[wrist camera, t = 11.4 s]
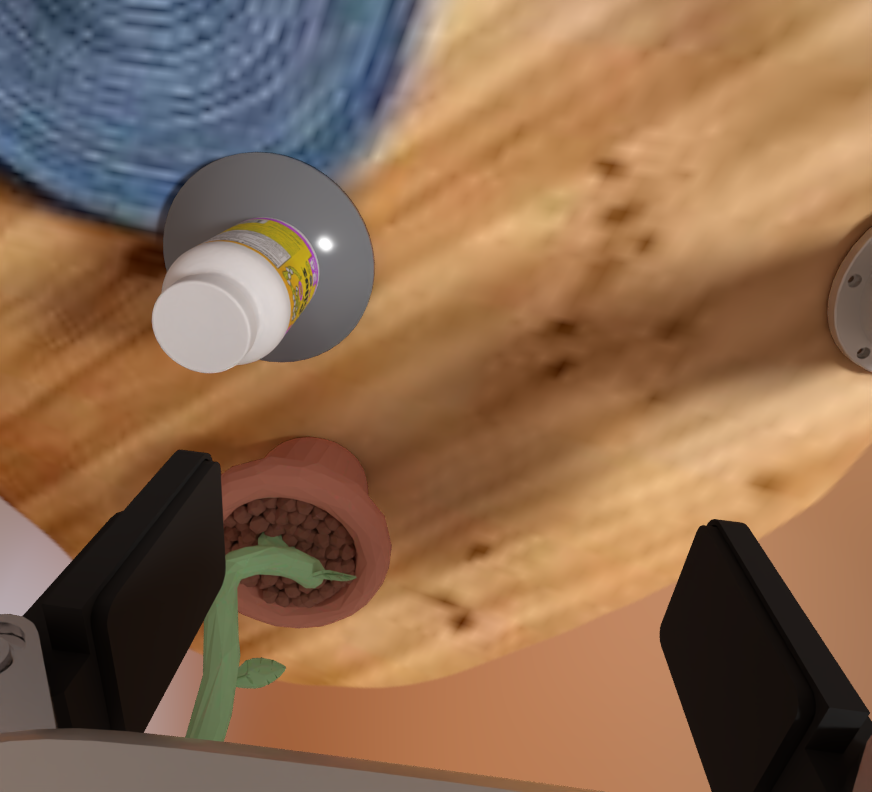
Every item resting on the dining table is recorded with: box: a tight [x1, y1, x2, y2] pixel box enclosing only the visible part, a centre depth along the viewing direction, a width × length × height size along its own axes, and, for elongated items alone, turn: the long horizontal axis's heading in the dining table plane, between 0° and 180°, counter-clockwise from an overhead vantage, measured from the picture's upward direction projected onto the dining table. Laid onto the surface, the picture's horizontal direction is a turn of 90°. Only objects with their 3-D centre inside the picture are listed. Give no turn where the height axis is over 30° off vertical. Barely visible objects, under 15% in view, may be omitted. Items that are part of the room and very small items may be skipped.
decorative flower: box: [185, 437, 392, 742], centre depth 34 cm, size 15×14×30 cm
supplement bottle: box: [152, 217, 319, 373], centre depth 34 cm, size 7×7×13 cm
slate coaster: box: [163, 152, 375, 362], centre depth 40 cm, size 14×14×1 cm
